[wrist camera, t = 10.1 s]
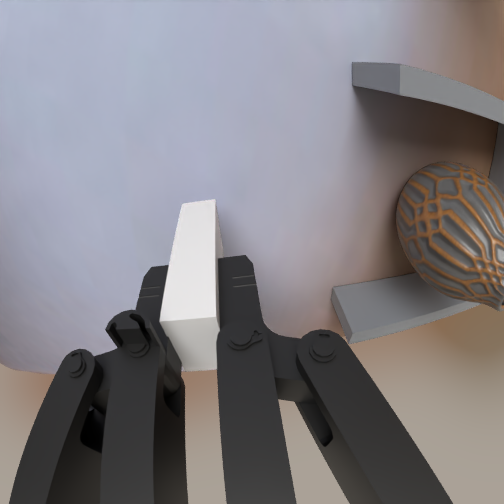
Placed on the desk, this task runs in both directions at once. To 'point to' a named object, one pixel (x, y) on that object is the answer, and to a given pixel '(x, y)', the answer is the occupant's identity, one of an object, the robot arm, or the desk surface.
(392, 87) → the box
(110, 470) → the robot arm
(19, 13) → the desk surface
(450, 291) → the vase
